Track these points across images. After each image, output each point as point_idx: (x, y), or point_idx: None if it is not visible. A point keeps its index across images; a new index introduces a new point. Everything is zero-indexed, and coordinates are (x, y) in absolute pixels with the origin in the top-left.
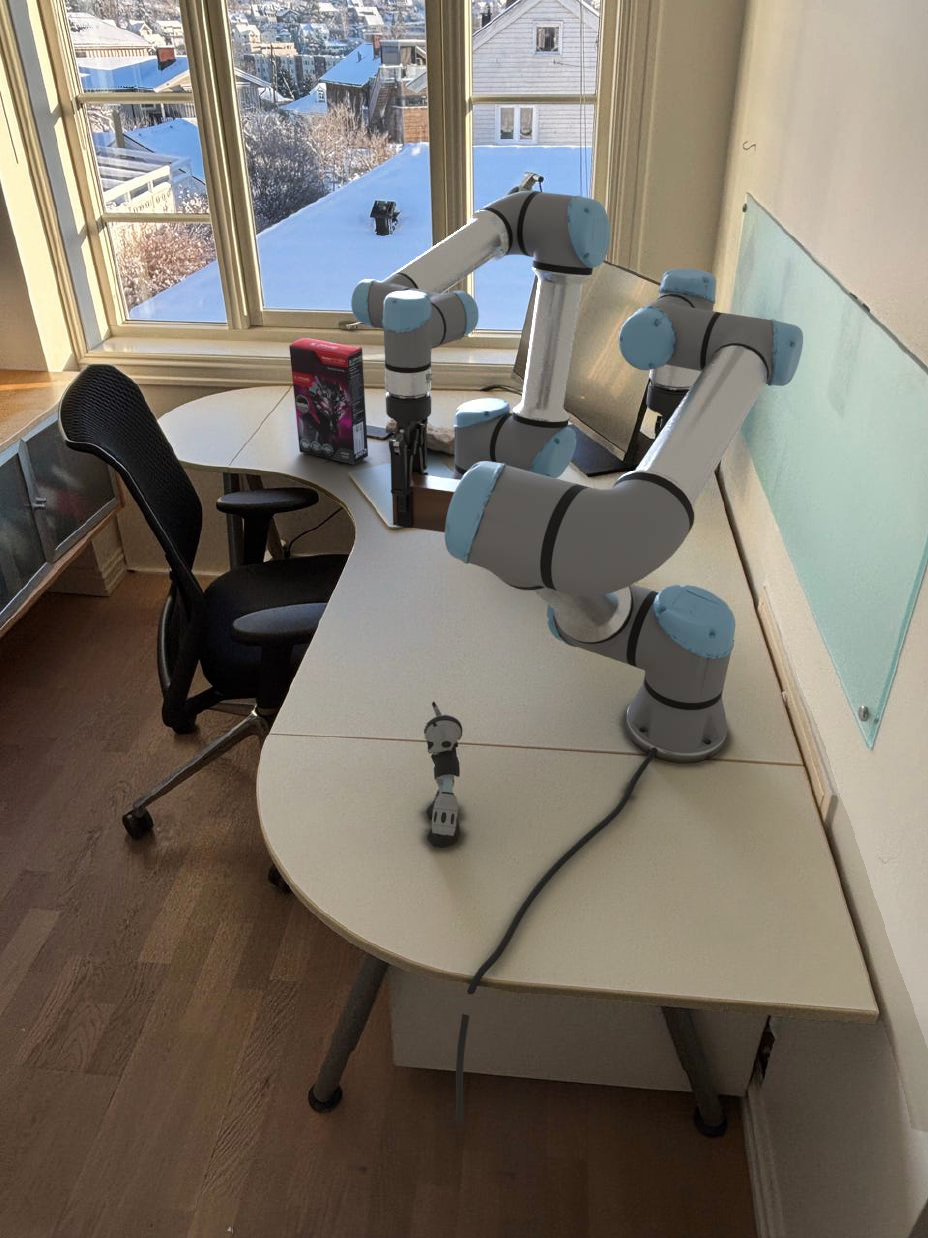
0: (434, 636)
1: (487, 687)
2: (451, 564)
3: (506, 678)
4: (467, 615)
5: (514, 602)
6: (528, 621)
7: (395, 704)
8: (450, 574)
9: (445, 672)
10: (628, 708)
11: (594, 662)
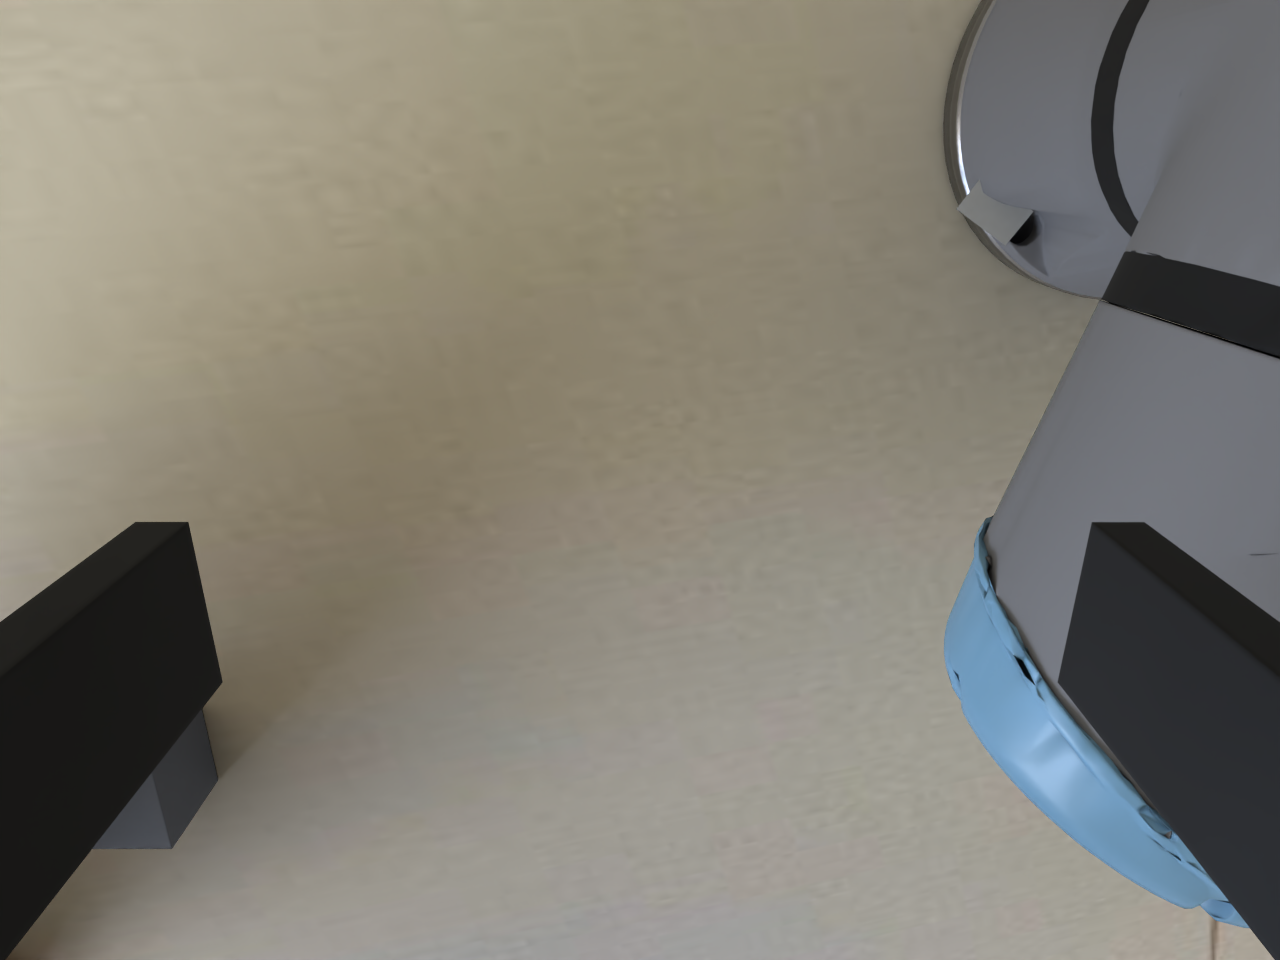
0: (739, 898)
1: (964, 723)
2: (328, 947)
3: (910, 685)
4: (602, 848)
5: (478, 744)
6: (577, 685)
7: (1072, 904)
8: (388, 936)
9: (910, 835)
10: (1099, 298)
11: (764, 444)
